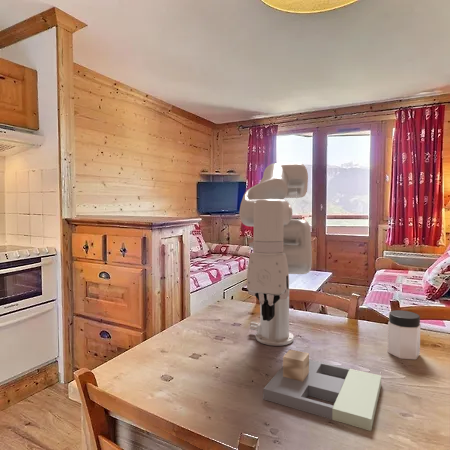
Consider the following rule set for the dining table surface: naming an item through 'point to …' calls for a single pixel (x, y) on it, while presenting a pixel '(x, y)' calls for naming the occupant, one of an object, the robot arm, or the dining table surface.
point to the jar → (404, 334)
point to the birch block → (296, 365)
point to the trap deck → (329, 393)
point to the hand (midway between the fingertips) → (268, 319)
